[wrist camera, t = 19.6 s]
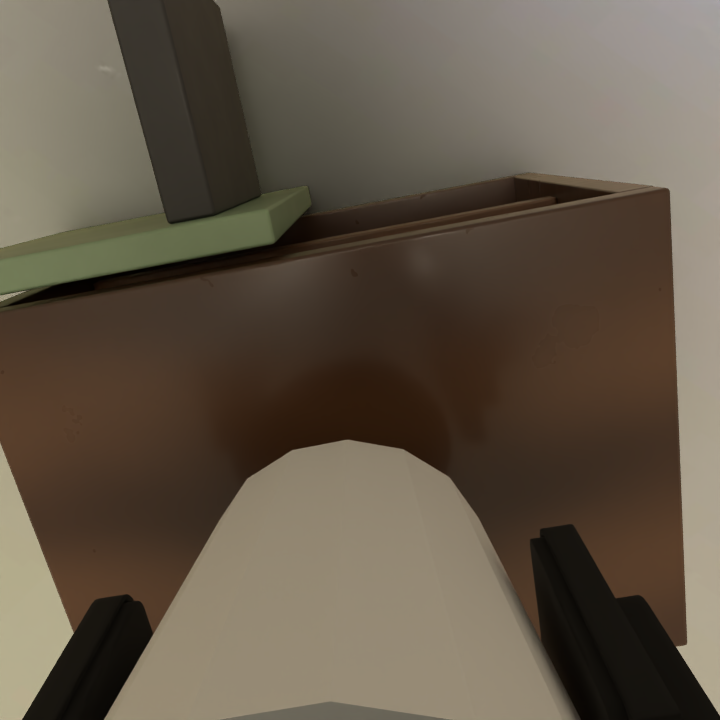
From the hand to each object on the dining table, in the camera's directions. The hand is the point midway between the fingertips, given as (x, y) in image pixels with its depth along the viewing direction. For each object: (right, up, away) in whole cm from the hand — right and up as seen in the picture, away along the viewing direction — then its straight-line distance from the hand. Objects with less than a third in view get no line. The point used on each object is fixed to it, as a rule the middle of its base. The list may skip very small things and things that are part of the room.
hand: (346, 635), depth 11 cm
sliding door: (-7, +13, +13) cm, 20 cm away
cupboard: (0, +5, +16) cm, 17 cm away
